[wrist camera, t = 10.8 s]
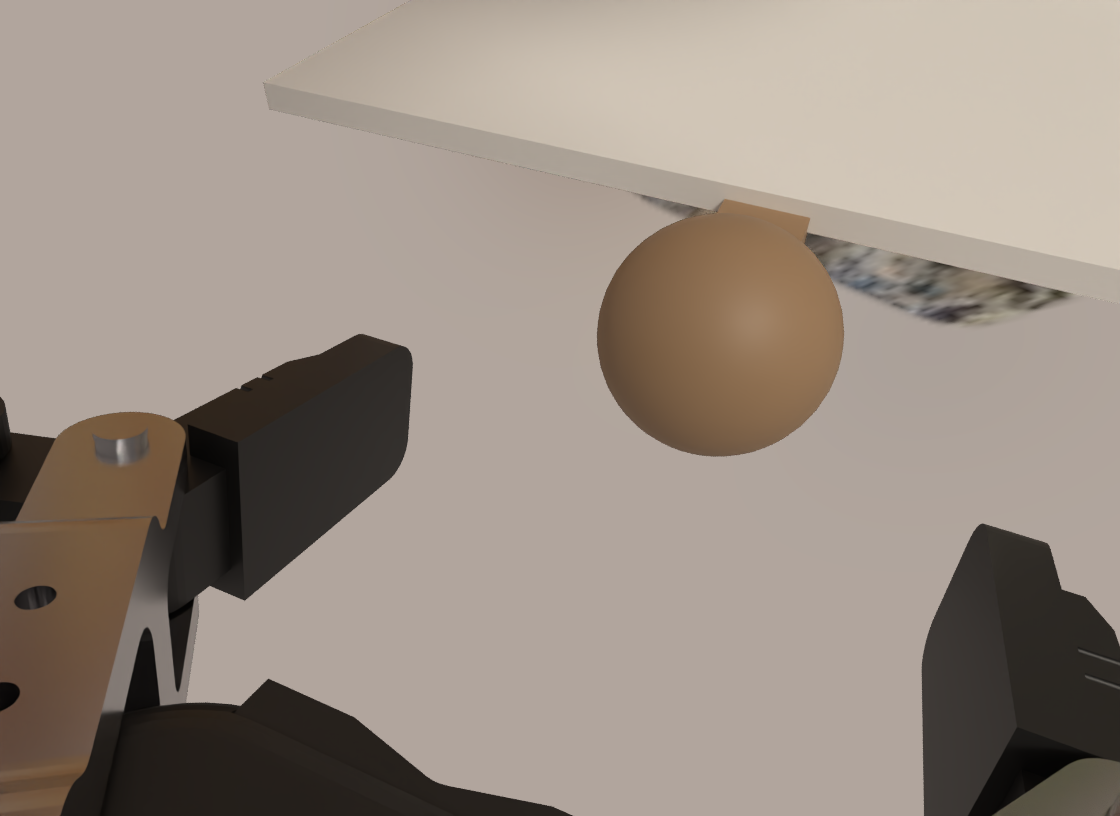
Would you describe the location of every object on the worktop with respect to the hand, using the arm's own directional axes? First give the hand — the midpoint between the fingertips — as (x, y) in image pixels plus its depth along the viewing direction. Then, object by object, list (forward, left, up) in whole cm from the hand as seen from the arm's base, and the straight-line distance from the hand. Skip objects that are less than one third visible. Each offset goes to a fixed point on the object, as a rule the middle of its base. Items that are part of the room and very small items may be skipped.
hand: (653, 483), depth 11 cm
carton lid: (-6, 0, -12) cm, 13 cm away
